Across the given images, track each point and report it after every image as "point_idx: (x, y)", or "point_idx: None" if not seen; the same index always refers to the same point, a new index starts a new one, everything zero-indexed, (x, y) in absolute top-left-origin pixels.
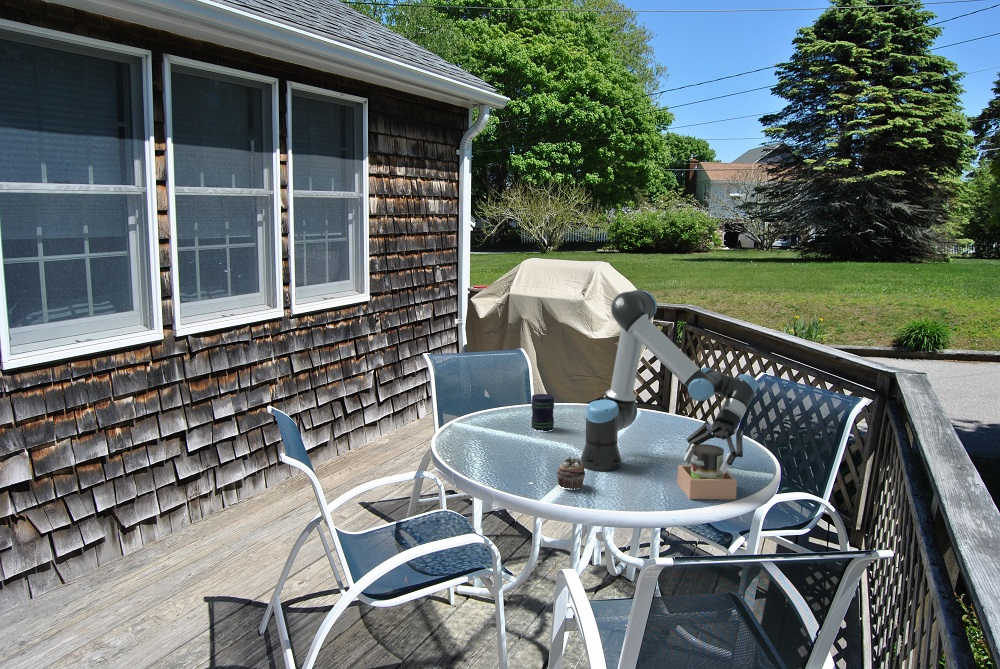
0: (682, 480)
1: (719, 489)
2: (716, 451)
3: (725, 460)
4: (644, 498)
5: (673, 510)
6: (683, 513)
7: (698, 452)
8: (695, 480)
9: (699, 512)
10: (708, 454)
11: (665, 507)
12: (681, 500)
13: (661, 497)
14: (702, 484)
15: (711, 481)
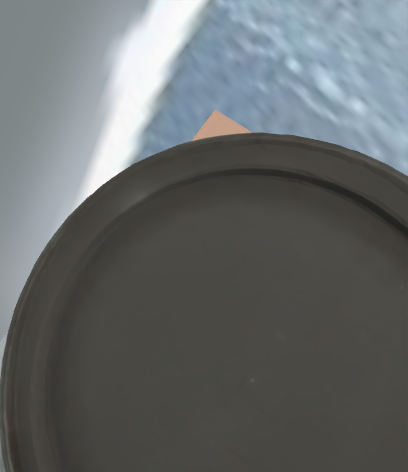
0: None
1: None
2: (82, 386)
3: (2, 351)
4: (361, 10)
5: (190, 22)
6: (147, 32)
7: (230, 137)
8: (195, 137)
9: (114, 89)
10: (103, 196)
11: (231, 17)
12: (242, 125)
13: (324, 79)
14: None
15: None
